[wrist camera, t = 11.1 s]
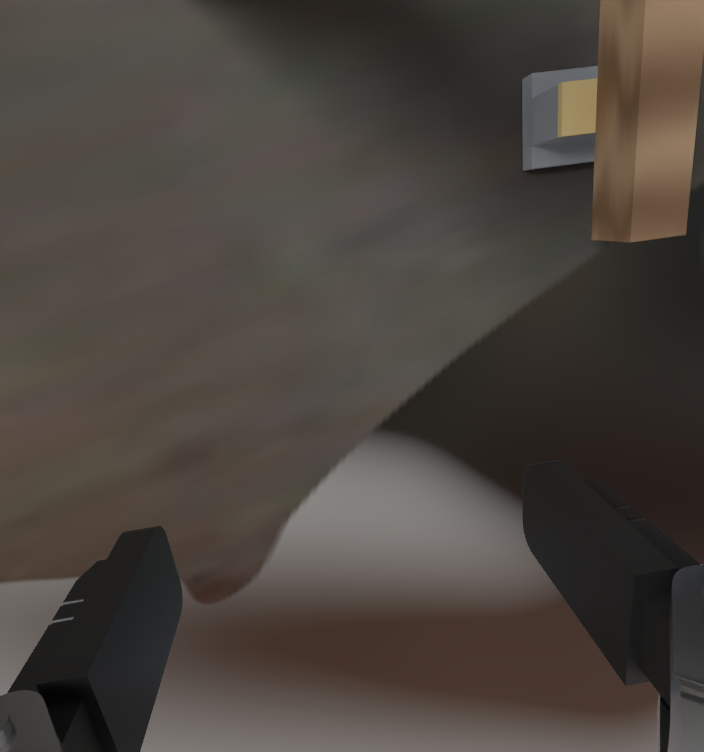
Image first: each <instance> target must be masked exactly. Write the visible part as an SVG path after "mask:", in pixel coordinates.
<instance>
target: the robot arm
mask: <svg viewBox="0 0 704 752" xmlns="http://www.w3.org/2000/svg"><path fill="white" fill-rule="evenodd" d="M522 479H523V480H522V481H523V482H522V488H523V528H524V534H525V538H526V541H527V543H528V546H529V548H530V550H531V552H532V553H533V555H534V556H535V558H536V559H537V561H538V562H539V564H540V565H541V566H542V568H543V569H544V571H545V572H546V573H547V575H548V576H549V578H550V579H551V580H552V582H553V583H554V585H555V586H556V588H557V589H558V590H559V592H560V593H561V595H562V596H563V598H564V599H565V601H566V602H567V603H568V605H569V606H570V608H571V609H572V610H573V612H574V613H575V615H576V616H577V617H578V619H579V620H580V622H581V623H582V625H583V626H584V627H585V629H586V630H587V632H588V633H589V635H590V636H591V638H592V639H593V640H594V642H595V643H596V645H597V646H598V647H599V649H600V650H601V652H602V653H603V654H604V656H605V657H606V659H607V660H608V662H609V663H610V665H611V666H612V667H613V669H614V670H615V672H616V673H617V674H618V676H619V677H620V679H621V680H622V682H623V683H624V685H625V686H628V685H633V684H637V683H643V682H648V681H650V682H651V683H652V685H653V686H654V687H655V688H656V690H657V691H658V692H659V700H658V735H657V738H658V739H657V740H658V741H657V752H704V565H700V564H699V563H698V562H697V561H696V560H695V559H693V558H692V557H691V556H690V555H689V554H687V552H685V551H684V550H683V549H682V548H681V547H680V546H678V545H677V544H676V543H675V542H674V541H673V540H671V539H670V538H669V537H668V536H667V535H666V534H664V533H663V532H662V531H661V530H660V529H659V528H657V527H656V526H655V525H654V524H652V522H650V521H649V520H645V518H644V516H643V515H642V514H641V513H640V512H639V511H638V510H636V509H635V508H634V507H630V504H629V503H628V502H627V501H626V500H625V499H623V498H622V497H621V496H620V495H619V494H618V493H616V492H615V491H614V490H613V489H611V488H609V487H607V486H605V485H603V484H601V483H598V482H596V481H594V480H592V479H590V478H586V479H581V478H580V477H579V476H578V475H577V474H575V473H574V472H573V471H572V470H571V469H570V468H569V467H568V466H566V464H565V463H563V462H562V461H560V460H555V461H549V462H543V463H538V464H532V465H526V466H525V467H524V470H523V475H522ZM181 611H182V587H181V582H180V579H179V575H178V572H177V569H176V565H175V562H174V559H173V555H172V552H171V549H170V545H169V542H168V539H167V535H166V533H165V531H164V529H163V528H162V527H161V526H157V527H151V528H145V529H139V530H133V531H127V532H124V533H122V534H121V535H120V537H119V539H118V540H117V542H116V544H115V546H114V547H113V549H112V551H111V553H110V555H109V556H108V558H107V559H106V560H101V561H97V562H96V563H95V564H94V565H93V566H92V567H91V568H90V569H89V570H88V571H86V572H85V573H84V574H83V575H82V576H81V577H80V578H79V579H78V580H77V581H76V582H75V584H74V586H73V587H72V589H71V590H70V592H69V594H68V595H67V597H66V599H65V600H64V605H63V606H61V607H60V608H59V610H58V612H57V613H56V615H55V616H54V618H53V620H52V621H53V622H52V624H51V625H49V626H48V628H47V630H46V631H45V633H44V635H43V636H42V638H41V639H40V641H39V643H38V644H37V646H36V647H35V649H34V650H33V652H32V654H31V655H30V657H29V659H28V660H27V662H26V663H25V665H24V667H23V668H22V670H21V672H20V674H19V675H18V676H17V678H16V680H15V681H14V683H13V685H12V686H11V688H10V690H9V691H8V693H7V694H4V695H1V696H0V752H140V750H141V746H142V743H143V740H144V736H145V733H146V730H147V726H148V723H149V719H150V716H151V713H152V710H153V706H154V703H155V700H156V696H157V693H158V690H159V686H160V683H161V679H162V676H163V673H164V669H165V666H166V663H167V659H168V656H169V653H170V649H171V646H172V643H173V639H174V636H175V633H176V629H177V626H178V623H179V619H180V616H181Z"/></svg>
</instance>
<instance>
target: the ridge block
mask: <svg viewBox="0 0 704 752" xmlns="http://www.w3.org/2000/svg"><path fill="white" fill-rule="evenodd" d="M597 76H598V66H591V67H582V68H573V69H565V70H556V71H547V72H539V73H532V74H530V75H528V76H527V77H525V78H524V79H522V123H523V171H525V170H533V169H541V168H549V167H557V166H564V165H572V164H580V163H588V162H594V157H595V130H596V103H597Z"/></svg>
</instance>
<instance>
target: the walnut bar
mask: <svg viewBox="0 0 704 752" xmlns="http://www.w3.org/2000/svg"><path fill="white" fill-rule="evenodd" d="M703 54H704V0H600V22H599V49H598V76H597V103H596V130H595V157H594V185H593V212H592V239H591V240H601V241H616V242H637V241H645V240H651V239H659V238H665V237H673V236H680V235H686V227H687V217H688V207H689V196H690V187H691V177H692V167H693V156H694V146H695V136H696V126H697V116H698V105H699V95H700V85H701V75H702V65H703Z"/></svg>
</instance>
